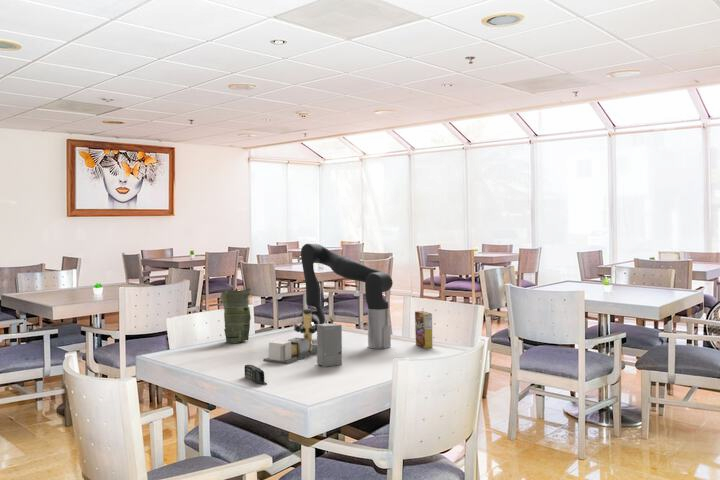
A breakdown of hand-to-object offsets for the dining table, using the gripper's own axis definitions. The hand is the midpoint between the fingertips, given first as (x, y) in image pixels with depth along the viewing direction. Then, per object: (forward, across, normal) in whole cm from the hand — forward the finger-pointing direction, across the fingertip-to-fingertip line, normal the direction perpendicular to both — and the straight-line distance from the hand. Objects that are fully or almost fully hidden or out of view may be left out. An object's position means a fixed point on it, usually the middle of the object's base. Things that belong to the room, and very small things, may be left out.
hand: (307, 330), depth 256 cm
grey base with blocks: (+3, -3, +9) cm, 10 cm away
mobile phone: (+44, -14, +10) cm, 48 cm away
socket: (+14, -10, +9) cm, 19 cm away
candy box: (-13, +51, +10) cm, 53 cm away
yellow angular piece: (+4, -4, +9) cm, 10 cm away
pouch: (-27, -36, +10) cm, 46 cm away
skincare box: (+21, +11, +10) cm, 25 cm away
